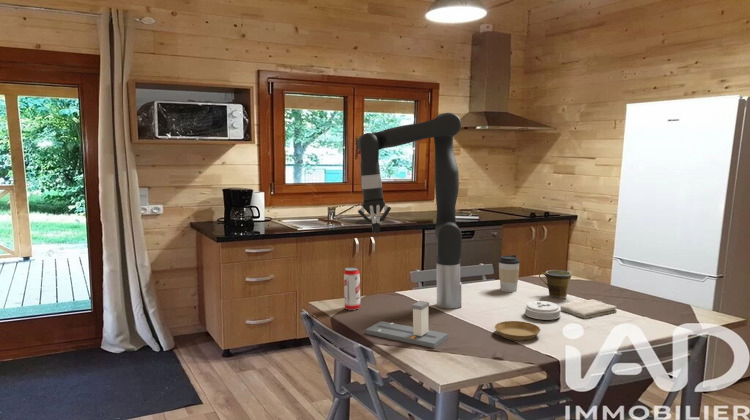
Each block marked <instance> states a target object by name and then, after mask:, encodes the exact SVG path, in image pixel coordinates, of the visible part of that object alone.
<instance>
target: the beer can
mask: <svg viewBox="0 0 750 420" xmlns="http://www.w3.org/2000/svg"><path fill="white" fill-rule="evenodd" d="M360 277H361V275H360V271H359V268H358V267H352V266H351V267H345V268H344V272H343V285H344V286H343V289H344V291H343V292H344V294H343V295H344V308H345V309H346V310H347V309H348V310H347V311H351V310H353V311H357V310H356V309H358V310H359V309H360V308H361V283H360V282H361V279H360Z"/></svg>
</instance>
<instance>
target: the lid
mask: <svg viewBox="0 0 750 420" xmlns="http://www.w3.org/2000/svg"><path fill="white" fill-rule="evenodd" d="M560 307H561V306H559V305H558V304H557V303H555V302H552V301H546V300H545V301H544V300H534V301H530V302H528V303H526V304H525V305H524V309H525V311H524V314H525V316H527V317H529V318H533V319H536V320H541V321H542V320H545V321H546V320H547V321H549V320H551V321H552V320H557V319H560V318H561V316H562V314H561V311H562V310H561V308H560Z"/></svg>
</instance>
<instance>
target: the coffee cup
mask: <svg viewBox="0 0 750 420" xmlns="http://www.w3.org/2000/svg"><path fill="white" fill-rule="evenodd" d="M497 262H498V274H499V276H498V277H499V285H500V286H499V287H500V291H501V292H504V293H505V292H506V293H514V292H517V291H518V282H519V275H520V274H519V273H520V259H519V258H518V257H517V255H515V254H512V255H501V256H500V258H499V259H498V261H497Z"/></svg>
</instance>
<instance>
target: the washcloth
mask: <svg viewBox="0 0 750 420" xmlns="http://www.w3.org/2000/svg"><path fill="white" fill-rule="evenodd" d="M559 307H560V308H561V310H560V311H562V312H564V313H567V314H571V315H573V316H576V317H579V318H581V319H591V318H594V317H599V316H603V315H608V314H613V313H617V311H618V310H617V305H613V304H607V303H605V302H603V301H600V300H596V299H594V298H593V299H588V300H587V299H581V300H578V301H572V302H568V303H563V304H562V305H560V306H559Z"/></svg>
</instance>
